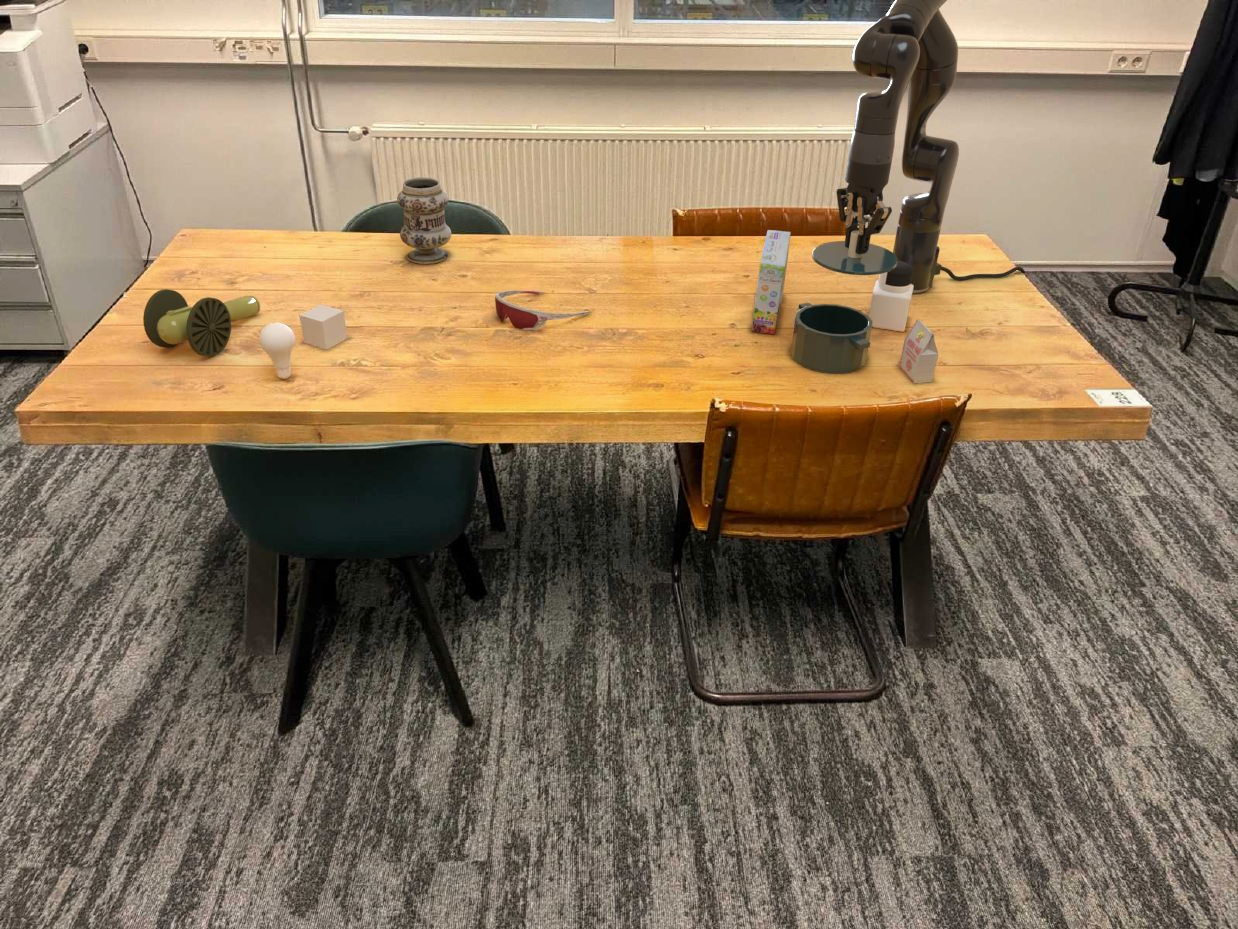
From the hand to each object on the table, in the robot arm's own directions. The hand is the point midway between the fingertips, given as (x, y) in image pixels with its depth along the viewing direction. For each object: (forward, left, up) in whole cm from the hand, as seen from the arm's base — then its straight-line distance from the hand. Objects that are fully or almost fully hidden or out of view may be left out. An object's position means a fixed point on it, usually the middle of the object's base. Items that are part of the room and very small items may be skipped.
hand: (855, 249), depth 176 cm
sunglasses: (+48, -41, -22) cm, 67 cm away
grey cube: (+91, -46, -22) cm, 105 cm away
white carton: (-9, +13, -22) cm, 27 cm away
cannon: (+111, -56, -22) cm, 127 cm away
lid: (0, 0, -2) cm, 2 cm away
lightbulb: (+101, -33, -22) cm, 109 cm away
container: (-19, -8, -22) cm, 30 cm away
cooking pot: (+2, 0, -22) cm, 22 cm away
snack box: (+2, -22, -22) cm, 32 cm away
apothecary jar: (+60, -82, -22) cm, 104 cm away
